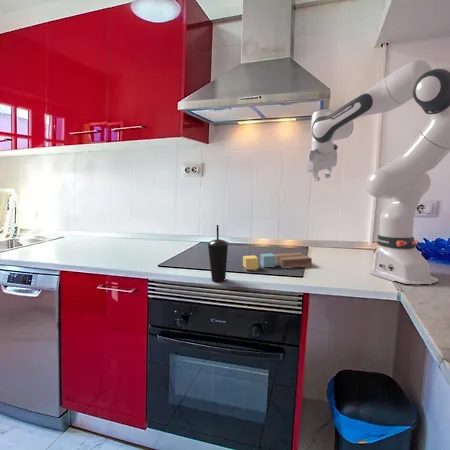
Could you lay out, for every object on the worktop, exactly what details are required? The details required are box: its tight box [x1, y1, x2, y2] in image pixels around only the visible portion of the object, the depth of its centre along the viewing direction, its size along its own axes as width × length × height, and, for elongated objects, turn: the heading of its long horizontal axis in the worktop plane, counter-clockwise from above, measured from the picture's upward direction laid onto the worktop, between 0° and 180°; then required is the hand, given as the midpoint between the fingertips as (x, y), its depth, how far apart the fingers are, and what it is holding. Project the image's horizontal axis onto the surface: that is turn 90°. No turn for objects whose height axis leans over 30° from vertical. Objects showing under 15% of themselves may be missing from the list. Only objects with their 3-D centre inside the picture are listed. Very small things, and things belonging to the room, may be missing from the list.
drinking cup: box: [206, 224, 230, 283], centre depth 114 cm, size 8×8×20 cm
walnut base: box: [273, 251, 312, 268], centre depth 135 cm, size 12×12×4 cm
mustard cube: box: [242, 254, 259, 270], centre depth 129 cm, size 5×5×5 cm
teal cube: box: [259, 252, 277, 268], centre depth 132 cm, size 5×5×5 cm
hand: (322, 179), depth 144 cm, fingers open, 8 cm apart
